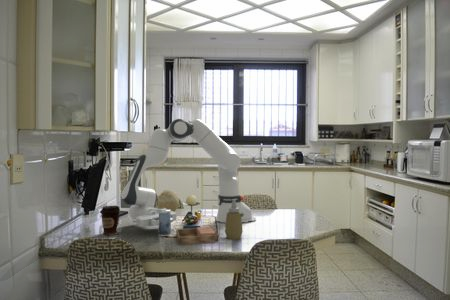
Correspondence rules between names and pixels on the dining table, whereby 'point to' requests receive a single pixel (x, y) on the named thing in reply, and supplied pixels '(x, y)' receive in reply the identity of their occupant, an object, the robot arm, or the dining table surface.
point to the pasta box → (205, 231)
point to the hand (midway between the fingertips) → (165, 221)
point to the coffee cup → (110, 219)
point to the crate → (194, 236)
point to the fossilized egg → (168, 200)
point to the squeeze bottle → (233, 223)
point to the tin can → (165, 222)
